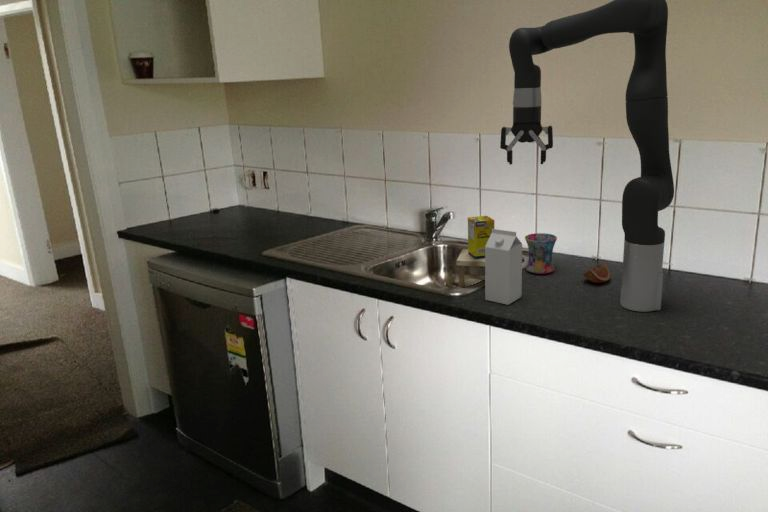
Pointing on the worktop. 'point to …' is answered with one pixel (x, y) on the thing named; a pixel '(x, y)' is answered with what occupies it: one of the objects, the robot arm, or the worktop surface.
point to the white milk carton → (503, 267)
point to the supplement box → (479, 235)
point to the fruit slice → (598, 274)
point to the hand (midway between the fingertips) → (526, 164)
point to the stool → (468, 266)
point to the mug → (540, 252)
